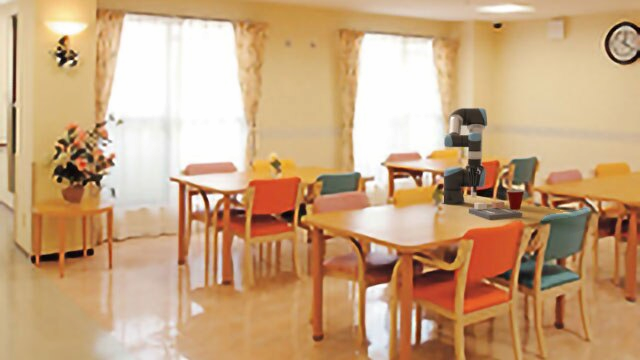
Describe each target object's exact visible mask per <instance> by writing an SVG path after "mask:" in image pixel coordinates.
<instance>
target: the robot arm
mask: <svg viewBox="0 0 640 360" xmlns="http://www.w3.org/2000/svg"><path fill="white" fill-rule="evenodd" d="M447 120H448V121H447V122H448V123H447V124H448V132H447V133H448V134H446V135H444V140H443V141H444V143H443V144H444V147H446V148H468V152H467V158H468V159H467V165H466V166H465V168H463V167H462V166H452V167H448V168H445V169H444V171H443V191H442V194H443V195H444V203H443V204H444V205H463V204H465V197H464V194H463V188H470V197H471V198H474V199H476V198H477V191H478V190H477V189H478V188H483V187H485V182H486V177H487V176H486V175H487V169H485V166H484V165H483V132H484V130H485V129H486V127H487V126H488V117H487V111H486V109H485V108H483V107H481V108H480V107H468V108H467V107H465V108H463V107H461V108H458V109H456V110H454V111H453V112H452V113H451V114H449V116H448V119H447ZM463 126H464V127H466V129H467V130H468V134H461V131H462V127H463Z"/></svg>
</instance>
